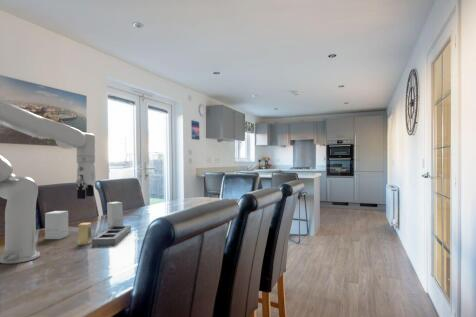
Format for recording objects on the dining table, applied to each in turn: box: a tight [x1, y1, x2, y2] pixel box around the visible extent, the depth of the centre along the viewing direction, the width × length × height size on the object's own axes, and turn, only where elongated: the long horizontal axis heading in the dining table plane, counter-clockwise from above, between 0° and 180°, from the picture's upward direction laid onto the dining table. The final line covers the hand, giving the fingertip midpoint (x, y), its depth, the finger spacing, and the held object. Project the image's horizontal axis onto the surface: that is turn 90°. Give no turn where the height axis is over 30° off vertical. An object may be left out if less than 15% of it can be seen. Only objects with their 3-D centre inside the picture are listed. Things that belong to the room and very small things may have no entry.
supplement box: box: [44, 210, 69, 240], centre depth 148 cm, size 7×7×13 cm
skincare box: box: [106, 201, 124, 229], centre depth 166 cm, size 8×6×15 cm
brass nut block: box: [77, 222, 92, 246], centre depth 137 cm, size 4×4×9 cm
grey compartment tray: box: [91, 225, 132, 247], centre depth 146 cm, size 28×10×3 cm, turn 6°
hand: (85, 197), depth 137 cm, fingers open, 9 cm apart
